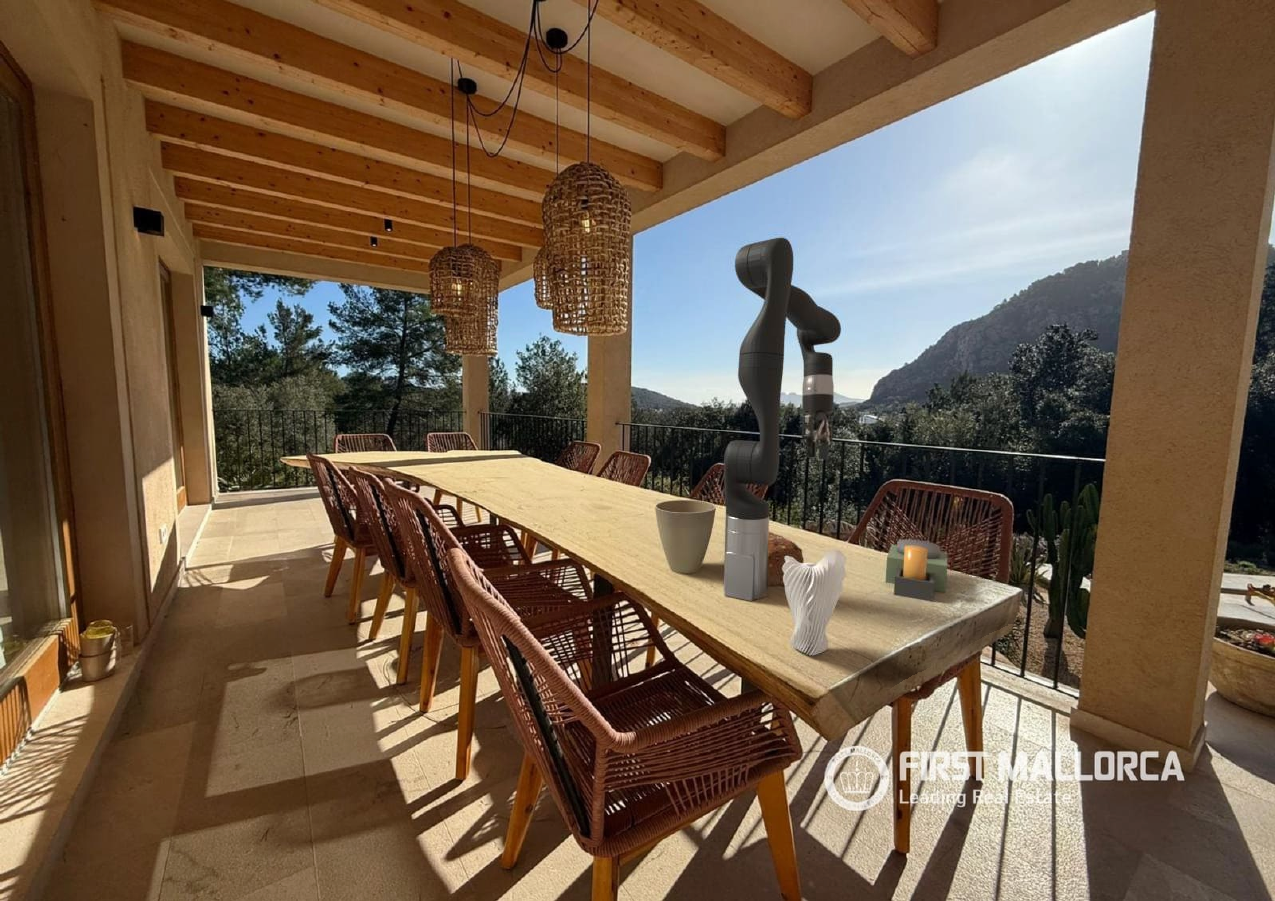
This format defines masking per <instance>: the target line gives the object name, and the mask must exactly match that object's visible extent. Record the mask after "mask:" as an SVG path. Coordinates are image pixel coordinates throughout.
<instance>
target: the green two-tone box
mask: <svg viewBox="0 0 1275 901" xmlns="http://www.w3.org/2000/svg"><path fill="white" fill-rule="evenodd" d="M908 545H915V546H921V547H924V548H927V566H926V581H924V580H918V579H912V578H906V577H903V568H904V551H905V546H908ZM887 553H888V554H887V557H886V569H885V570H886V571H885V583H889V584H893V585H894V586H893V587H894V589H893V595H894V596H900V597H904V598H905V597H906V598H910V599H917V600H921V601H927V602H932V601H933V602H934V592H939V593H946V587H947V575H948V552H947V551H941V546H940V545H939V544H937V543H934V542H930V541H926V540H918V539H900V540H897V542H896V544H891V545H890V548H889V551H888V552H887Z"/></svg>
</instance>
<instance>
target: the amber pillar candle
mask: <svg viewBox="0 0 1275 901" xmlns="http://www.w3.org/2000/svg"><path fill="white" fill-rule="evenodd" d="M926 566H927V548H924V547H921V546H915V545H908V546H905V551H904V568H903V577H906V578H912V579H918V580H924V581H926Z"/></svg>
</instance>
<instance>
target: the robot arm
mask: <svg viewBox="0 0 1275 901" xmlns="http://www.w3.org/2000/svg"><path fill="white" fill-rule="evenodd" d="M734 271H735V274H736V277H737V279H738V280H739V282H740V283H741V285H742V286H743V287H745V288H746V289H747V290H749V291H750V292H752V293H754V294H755V295H756V296H758V297H759V298H761V299H762V300H763V305H762V306H761V309H760V312H759V313H758V315H757V317H756V319H755V320H754V322H753V323H752V325H751V326H750V328H749V330H748V331H747V333H746V334H745V336H744V338H743V340H742V341H741V344H740V347H739V356H738V371H737V379H738V383H739V386H740V387H741V390H742V391H743V393H744V395H745V397H746V399H747V400H748V402H749V404H750V405H751V408H752V409H753V411H754V414H755V416H756V420H757V423H758V429H759V441H756V440H755V441H754V440H732V441H730V442H729V443H728V445H727V446H726V449H725V452H724V457H723V459H724V460H723V477H724V478H723V479H724V480H723V481H724V483H723V484H724V504H725V524H724V525H725V529H724V533H725V534H724V557H723V558H724V562H723V563H724V564H723V565H724V567H723V592H724V596H726V597H731V598H735V599H740V600H741V599H742V600H745V601H749V602H753V601H754V600H758V599H762V598H764V597H765V596H766V595H767V593H768V592H767V590H768V589H767V588H768V585H767V563H768V534H769V532H770V530H769V529H770V528H769V527H770V510H771V509H770V504H769V502H767V501H766V500H765V499H762V498H761V497H759V496H757V495H756V494H754V493H753V492H752V491H750V490H749V489H748V487H747V485H754V486H755V485H756V486H764V487H765V486H767V487H769V486H772V485H773V484H774V483H775V482H776V480H777V478H778V477H777V476H778V474H779V467H780V409H781V408H780V407H781V394H782V384H783V373H784V362H785V361H784V360H785V357H784V356H785V338H786V337H785V336H786V321H787V320H788V321H789V322H790V323H791V324H792V325H793V326H794V327H795V328H796V337H797V341H798V344H799V347H800V351H801V356H802V360H803V381H802V388H801V389H802V392H801V393H802V395H801V396H802V398H801V399H802V404H801V406H802V407H801V410H802V413H803V415H802V418H801V419H802V422H801V439H802V440H804V443H806V444H805V457H806V458H809V459H811V458H812V459H814V458H816V457H817V441H818V444H819V445H818V458H819V459H820V460H828V459H829V445H830V444H831V443H833V420H832V419H828V416H827V415H830V414H833V413H834V409H835V408H834V407H835V406H834V405H835V404H834V403H835V401H834V399H835V398H834V394H835V393H834V390H835V388H834V379H833V372H834V371H833V370H834V368H833V366H834V364H833V362H834V361H833V360H834V359H833V356H832V355H831V354H830V353H827V352H821V351H816V350H815V348H814V347H815V346H820V345H826V344H832V343H834V342H836V341H837V340H838V339H839V337H840V335H841V332H842V328H841V327H842V326H841V322H840V320H839V319H838V317H837V316H836V315H835V314H833V312H831V311H829V310H827V309H825V308H823V307H822V306H820V305H818V304H817V303H816V302H815V300H814V299H813V298H812V296H811V295H809V294H808V293H807V292H806V291H805V290H803V289H801V288H799V287H798V286H795V285H793V284H792V280H793V274H794V250H793V246H792V244H791V243H790V241H789V240H788V239H787V238H786V237H775V238H770V239H765V240H761V241H757V242H753V243H748V244H746V245H744V246H742V247H740V248H739V250H738V251H737V253H736V256H735V259H734Z"/></svg>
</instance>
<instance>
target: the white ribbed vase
mask: <svg viewBox="0 0 1275 901" xmlns="http://www.w3.org/2000/svg"><path fill="white" fill-rule="evenodd" d="M785 561H786V563H785V564H784V565H783V568H782V569H783V572H784V576H783V582H784V585H783V586H784V591H785V597H786V601H787V604H788V607H789V610H790V613H791V616H792V621H793V626H794V630H793V634H792V635H791V637H790V640H789V642H790V644H791V646H793V648H794V649H796V650H798V651H800V652H801V653H804V654H806V655H809V656H816V655H818V654H821V653H823V652H825V651H827V649H828V648H829V640H828V637H827V633H826V629H827V626H828V624H829V623H830V620H831V618H832V616H833V615H834V614H833V613H834V611H835V609H836V605H837V603H838V601H839V598H840V597H841V594H842V592H843V587H844V586H843V584H844V583H843V582H844V580H845V578H846V576H847V570H846V568H845V565H846V562H847V558H846V555H845V554H844V553H843V552H842V551H840V550H838V549H835V548H833V549H829V550H828V551H827V552H826V553H825V554H824V555H823V556H822V558H820V560H819V561H818V562H817V563H813V562H805V563H804V562H803V563H799V562H797V561H796V560H795V559H794V558H793V557H789V556H785Z"/></svg>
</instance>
